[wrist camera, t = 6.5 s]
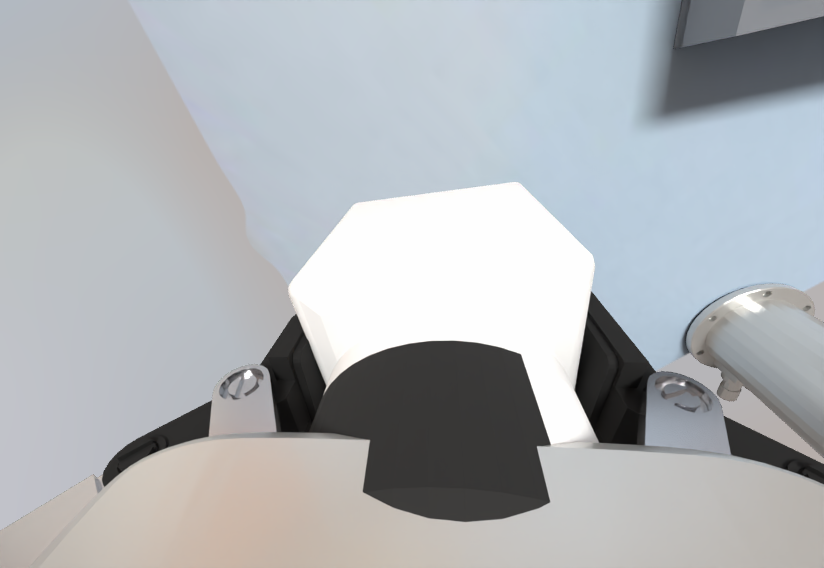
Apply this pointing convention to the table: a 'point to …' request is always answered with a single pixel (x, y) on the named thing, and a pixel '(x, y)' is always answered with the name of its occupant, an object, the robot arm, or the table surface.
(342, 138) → the table surface
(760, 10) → the bin
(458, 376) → the medicine bottle
